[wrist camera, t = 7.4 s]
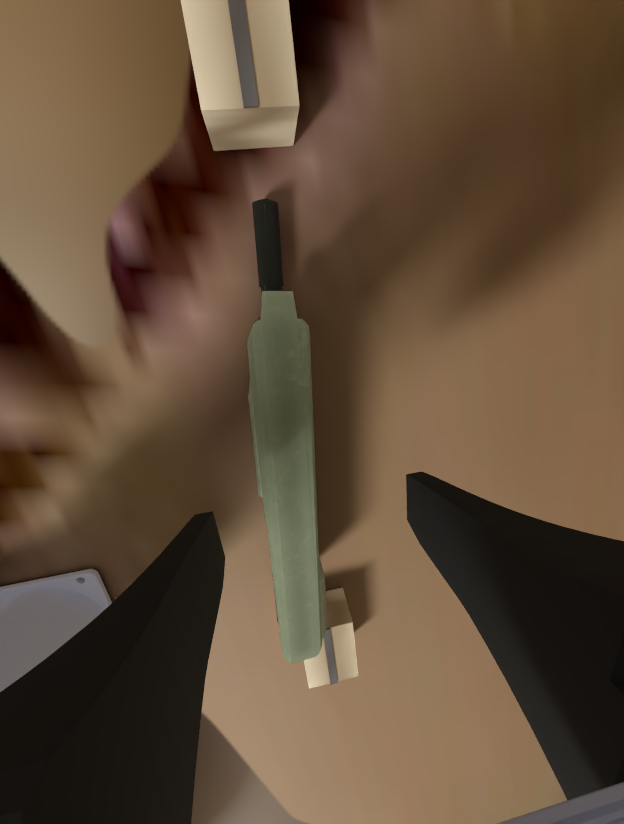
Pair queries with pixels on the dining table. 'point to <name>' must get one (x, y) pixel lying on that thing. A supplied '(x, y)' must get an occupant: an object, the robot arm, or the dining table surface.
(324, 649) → the taped cardboard parcel
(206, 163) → the dining table surface
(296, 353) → the handheld radio
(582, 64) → the dining table surface
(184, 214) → the dining table surface
